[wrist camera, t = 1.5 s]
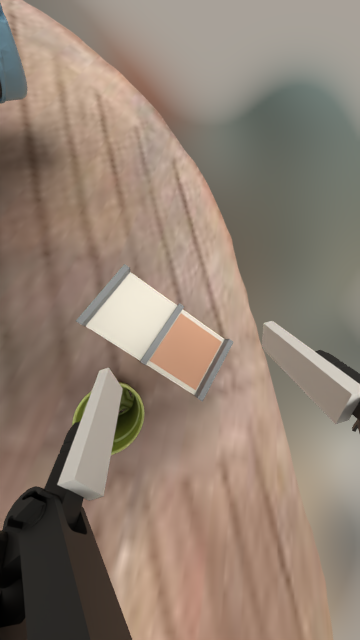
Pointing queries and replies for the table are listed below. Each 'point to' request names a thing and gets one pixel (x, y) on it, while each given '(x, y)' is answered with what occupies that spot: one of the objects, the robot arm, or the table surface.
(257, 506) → the table surface
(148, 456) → the table surface
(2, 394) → the table surface
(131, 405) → the plant pot
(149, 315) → the slot board
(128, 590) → the table surface
